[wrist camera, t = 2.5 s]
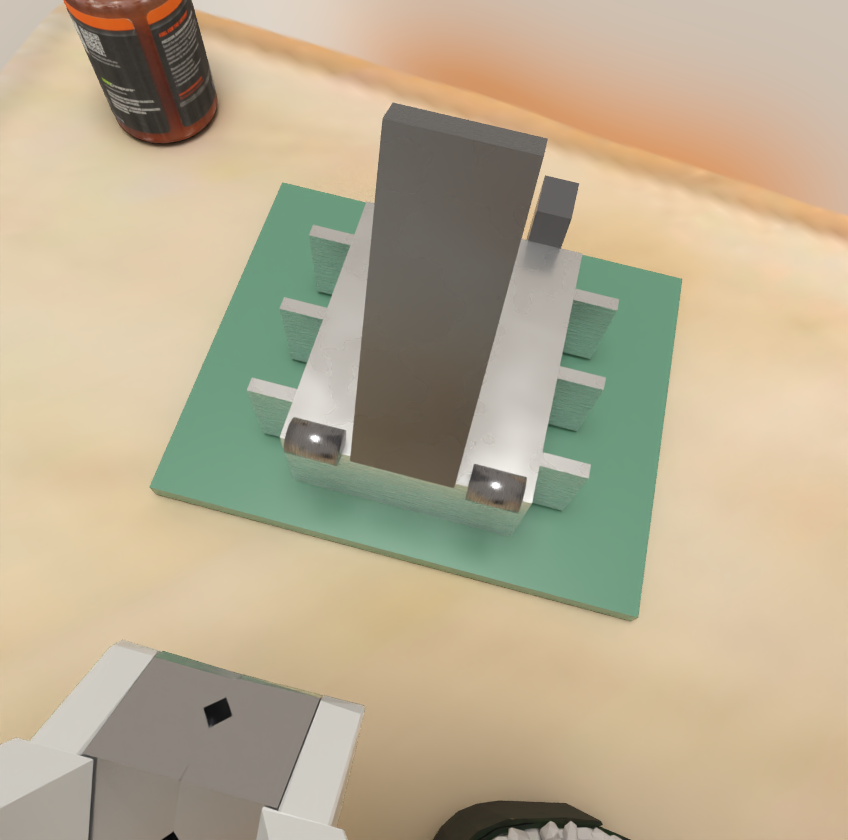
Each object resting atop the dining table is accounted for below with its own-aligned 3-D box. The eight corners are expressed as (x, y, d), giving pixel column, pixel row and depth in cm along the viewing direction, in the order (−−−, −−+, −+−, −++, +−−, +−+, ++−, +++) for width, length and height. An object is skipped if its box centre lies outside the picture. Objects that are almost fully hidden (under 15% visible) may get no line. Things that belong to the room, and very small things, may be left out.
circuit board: (675, 289, 39) (682, 279, 38) (630, 621, 32) (638, 617, 31) (284, 195, 40) (282, 182, 39) (155, 494, 33) (149, 487, 32)
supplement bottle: (225, 76, 44) (177, -130, 33) (212, 151, 41) (156, -45, 31) (125, 70, 43) (45, -139, 33) (105, 146, 41) (12, -54, 31)
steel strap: (547, 138, 18) (543, 156, 17) (459, 468, 27) (454, 488, 27) (392, 102, 18) (382, 118, 18) (357, 441, 28) (349, 461, 27)
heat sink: (596, 323, 37) (635, 246, 31) (551, 564, 32) (589, 524, 26) (331, 258, 38) (321, 170, 32) (245, 482, 32) (216, 427, 27)
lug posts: (545, 277, 38) (578, 183, 31) (538, 309, 37) (571, 219, 31) (397, 241, 38) (400, 141, 32) (386, 271, 37) (388, 175, 31)
